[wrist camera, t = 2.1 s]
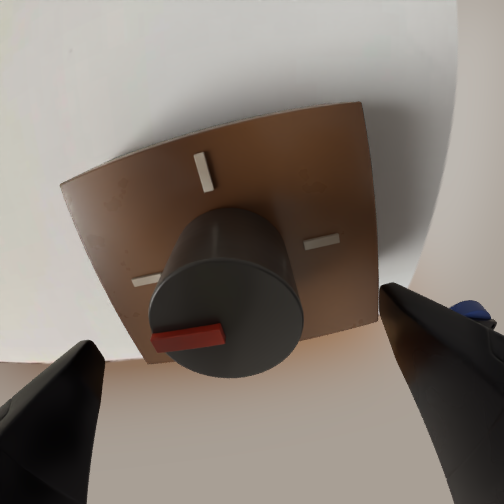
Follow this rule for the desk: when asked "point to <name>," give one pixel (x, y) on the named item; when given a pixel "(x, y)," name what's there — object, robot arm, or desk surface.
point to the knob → (227, 297)
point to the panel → (243, 197)
